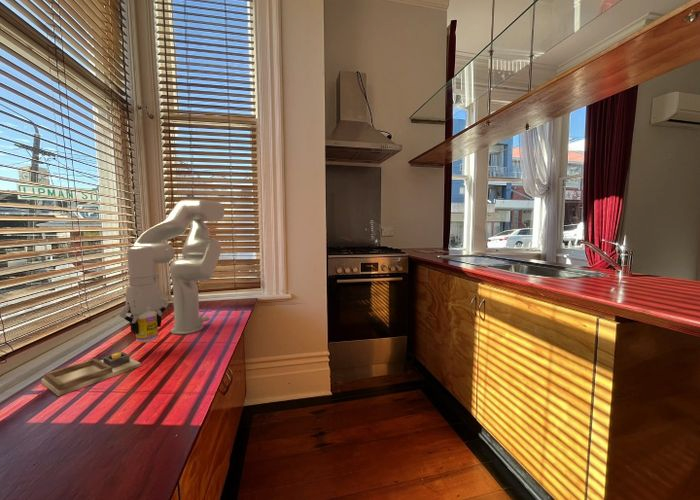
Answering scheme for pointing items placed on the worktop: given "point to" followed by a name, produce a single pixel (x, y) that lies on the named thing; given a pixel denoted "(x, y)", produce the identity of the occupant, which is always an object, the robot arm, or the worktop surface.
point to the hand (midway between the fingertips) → (146, 329)
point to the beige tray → (87, 373)
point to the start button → (116, 355)
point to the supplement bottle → (147, 326)
